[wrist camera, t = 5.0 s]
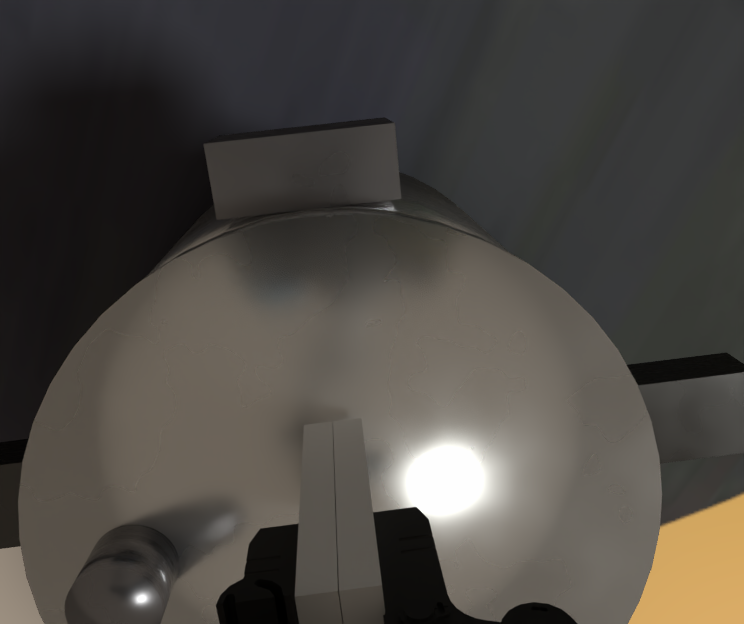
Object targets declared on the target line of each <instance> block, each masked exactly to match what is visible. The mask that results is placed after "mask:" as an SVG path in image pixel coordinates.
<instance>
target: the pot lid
mask: <svg viewBox="0 0 744 624" xmlns="http://www.w3.org/2000/svg"><path fill="white" fill-rule="evenodd" d="M356 418H361V420H362V428H363V436H364V444H365V452H366V460H367V468H368V476H369V484H370V492H371V500H372V508H373V512H379V511H387V510H394V509H402V508H410V507H417V508H418V509H419V510H420V511H421V512H422V513H423V514H424V515H425V516H426V517H427V518H428V519H429V523H430V527H431V530H432V535H433V538H434V542H435V546H436V550H437V554H438V558H439V562H440V566H441V570H442V574H443V578H444V582H445V586H446V590H447V594H448V596H449V598H450V601H451V602H452V603H453V604H454V606H455V607H456V608H457V609H459V610H460V611H462V612H463V613H464V614H467V615H469V616H471V617H474V618H478V619H482V620H488V621H496V622H501V620H502V618H503V617H504V616H505V614H506V613H507V612H508V611H509V610H510V609H512V608H514V607H516V606H518V605H520V604H525V603H531V602H537V603H546V604H550V605H553V606H555V607H558V608H560V609H562V610H563V611H565V612H566V613H567V614H568V615H570V616H571V617H572V618H573V619H574V620H575V622H576V623H577V624H628V622H629V620H630V618H631V616H632V614H633V612H634V611H635V609H636V606H637V605H638V603H639V601H640V598H641V595H642V593H643V590H644V587H645V584H646V581H647V579H648V575H649V573H650V570H651V568H652V563H653V559H654V554H655V549H656V545H657V540H658V535H659V530H660V516H661V502H662V487H661V473H660V459H659V453H658V449H657V444H656V440H655V435H654V431H653V426H652V422H651V419H650V416H649V413H648V411H647V408H646V406H645V403H644V400H643V398H642V395H641V392H640V390H639V387H638V385H637V383H636V381H635V379H634V377H633V376H632V374H631V372H630V370H629V369H628V367H627V365H626V363H625V361H624V360H623V358H622V356H621V354H620V353H619V351H618V349H617V348H616V347H615V345H614V344H613V343H612V342H611V340H610V339H609V338H608V336H607V335H606V334H605V333H604V331H603V330H602V329H601V327H600V326H599V325H598V323H597V322H596V321H595V320H594V318H593V317H592V316H591V315H590V314H589V313H588V312H587V311H585V310H584V309H583V308H582V307H581V306H580V305H579V304H578V303H577V302H576V301H575V300H574V299H573V298H572V297H571V296H570V295H569V294H568V293H567V292H566V291H565V290H564V289H563V288H561V287H560V286H558V285H557V284H556V283H554V282H553V281H551V280H550V279H549V278H547V277H546V276H545V275H543V274H542V273H540V272H539V271H538V270H536V269H535V268H533V267H532V266H531V265H529V264H528V263H526V262H525V261H523V260H521V259H520V258H518V257H517V256H515V255H513V254H511V253H509V252H507V251H505V250H504V249H502V248H500V247H498V246H496V245H494V244H492V243H490V242H488V241H487V240H485V239H483V238H481V237H479V236H476V235H473V234H471V233H468V232H465V231H462V230H460V229H457V228H454V227H451V226H449V225H446V224H443V223H440V222H436V221H432V220H427V219H423V218H418V217H414V216H409V215H405V214H400V213H393V212H381V211H369V210H357V209H347V210H326V211H308V212H303V213H297V214H292V215H286V216H281V217H275V218H270V219H265V220H262V221H259V222H255V223H252V224H249V225H246V226H243V227H240V228H237V229H234V230H231V231H227V232H224V233H222V234H220V235H218V236H216V237H214V238H211V239H209V240H207V241H205V242H203V243H201V244H199V245H197V246H195V247H193V248H191V249H188V250H186V251H184V252H183V253H181V254H180V255H178V256H177V257H175V258H173V259H172V260H170V261H169V262H167V263H166V264H164V265H163V266H161V267H160V268H158V269H157V270H155V271H154V272H152V273H151V274H149V275H148V276H146V277H145V278H144V279H142V280H141V281H140V282H138V283H137V284H136V285H135V286H134V287H132V288H131V289H130V290H129V291H128V292H127V293H126V294H124V295H123V296H122V297H121V298H120V299H119V300H118V301H116V302H115V303H114V304H113V305H112V306H111V307H110V308H108V309H107V310H106V311H105V312H104V313H103V314H102V315H101V316H100V317H99V318H98V319H97V320H96V322H95V323H94V324H93V325H92V326H91V327H90V329H89V330H88V331H87V332H86V333H85V334H84V336H83V337H82V338H81V339H80V340H79V341H78V343H77V344H76V345H75V346H74V347H73V349H72V350H71V352H70V353H69V355H68V356H67V358H66V360H65V361H64V363H63V364H62V366H61V368H60V369H59V371H58V372H57V374H56V375H55V377H54V379H53V380H52V382H51V383H50V385H49V388H48V390H47V392H46V394H45V397H44V399H43V401H42V403H41V406H40V408H39V410H38V412H37V415H36V417H35V419H34V421H33V425H32V429H31V432H30V436H29V440H28V443H27V447H26V451H25V454H24V458H23V462H22V471H21V479H20V488H19V497H18V513H19V540H20V545H21V550H22V555H23V561H24V566H25V571H26V576H27V580H28V583H29V585H30V588H31V591H32V594H33V597H34V600H35V603H36V605H37V608H38V611H39V614H40V616H41V618H42V620H43V622H44V623H45V624H220V623H219V619H218V614H217V609H216V603H217V601H218V599H219V597H220V595H221V594H222V593H223V592H224V591H225V590H226V589H227V588H228V587H229V586H230V585H232V584H234V583H236V582H238V581H240V580H241V579H243V577H244V571H245V565H246V563H247V562H246V559H247V553H248V547H249V543H250V542H251V540H252V539H253V538H254V536H255V535H256V534H257V532H258V531H259V530H260V528H268V527H276V526H283V525H291V524H299V507H300V488H301V470H302V451H303V433H304V425H308V424H316V423H324V422H333V421H340V420H348V419H356Z"/></svg>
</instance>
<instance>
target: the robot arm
mask: <svg viewBox="0 0 744 624" xmlns="http://www.w3.org/2000/svg"><path fill="white" fill-rule="evenodd" d="M246 562H247V563H246V565H245V571H244V577H243V579H241V580H240V581H238V582H236V583H234V584H232V585H230V586H229V587H228V588H227V589H226V590H225V591H224V592H223V593H222V594H221V595H220V597H219V599H218V601H217V603H216V609H217V614H218V619H219V623H220V624H577V623H576V622H575V620H574V619H573V618H572V617H571V616H570V615H568V614H567V613H566V612H565V611H563V610H562V609H560V608H558V607H555V606H553V605H550V604H546V603H537V602H531V603H525V604H520V605H518V606H516V607H514V608H512V609H510V610H509V611H508V612H507V613H506V614H505V616H504V617H503V618H502V620H501V622H496V621H488V620H482V619H478V618H474V617H471V616H469V615H467V614H464V613H463V612H462V611H460V610H459V609H457V608H456V607H455V606H454V604H453V603H452V602H451V601H450V598H449V596H448V594H447V590H446V586H445V582H444V578H443V574H442V570H441V566H440V562H439V558H438V554H437V550H436V546H435V542H434V538H433V535H432V530H431V527H430V523H429V519H428V518H427V517H426V516H425V515H424V514H423V513H422V512H421V511H420V510H419V509H418V508H417V507H410V508H402V509H394V510H387V511H379V512H373V508H372V500H371V492H370V484H369V476H368V468H367V460H366V452H365V444H364V436H363V428H362V420H361V418H356V419H348V420H340V421H333V422H324V423H316V424H308V425H304V433H303V451H302V470H301V488H300V507H299V524H291V525H283V526H276V527H268V528H260V530H259V531H258V532H257V534H256V535H255V536H254V538H253V539H252V540H251V542H250V543H249V547H248V553H247V559H246Z"/></svg>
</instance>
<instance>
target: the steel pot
mask: <svg viewBox="0 0 744 624" xmlns="http://www.w3.org/2000/svg"><path fill="white" fill-rule="evenodd" d="M203 145H204V150H205V156H206V162H207V167H208V173H209V179H210V184H211V190H212V196H213V201H214V205H213V206H211V207H210V208H209V209H208V210H207V211H206V212H205V213H204V214H202V215H201V216H200V217H199V219H198V220H197V221H196V222H195V223H194V224H193V225H192V226H191V227H190V229H189V230H188V231H187V232H186V233H185V234H184V235H183V236H182V237H181V238H180V240H179V241H178V242H177V243H176V244H175V245H174V246H173V247H172V248H171V250H170V251H169V252H168V253H167V254H166V255H165V256H164V257H163V258H162V260H161V261H160V262H159V263H158V264H157V265H156V266H155V267H154V268H153V270H152V271H151V272H150V273H149V274H151V273H152V272H154V271H155V270H157V269H158V268H160V267H161V266H163V265H164V264H166V263H167V262H169V261H170V260H172V259H173V258H175V257H177V256H178V255H180V254H181V253H183V252H184V251H186V250H188V249H191V248H193V247H195V246H197V245H199V244H201V243H203V242H205V241H207V240H209V239H211V238H214V237H216V236H218V235H220V234H222V233H224V232H227V231H231V230H234V229H237V228H240V227H243V226H246V225H249V224H252V223H255V222H259V221H262V220H265V219H270V218H275V217H281V216H286V215H292V214H297V213H303V212H308V211H326V210H347V209H357V210H369V211H381V212H393V213H400V214H405V215H409V216H414V217H418V218H423V219H427V220H432V221H436V222H440V223H443V224H446V225H449V226H451V227H454V228H457V229H460V230H462V231H465V232H468V233H471V234H473V235H476V236H479V237H481V238H483V239H485V240H487V241H488V242H490V243H492V244H494V245H496V246H498V247H500V248H502V249H504V250H505V251H507V250H506V249H505V248H504V247H503V246H502V245H501V244H499V243H498V242H497V241H496V240H495V239H494V238H493V237H492V236H491V235H489V234H488V233H487V232H486V231H485V230H484V229H483V228H482V227H481V226H479V225H478V224H477V223H476V222H475V221H474V220H473V219H472V218H471V217H469V216H468V215H467V214H466V213H465V212H464V211H463V210H462V209H461V208H459V207H458V206H457V205H456V204H455V203H454V202H452V201H451V200H449V199H448V198H447V197H445V196H444V195H443V194H441V193H440V192H438V191H437V190H436V189H434V188H432V187H430V186H429V185H427V184H425V183H423V182H421V181H419V180H417V179H415V178H414V177H411V176H408V175H406V174H403V173H400V172H399V167H398V156H397V144H396V133H395V123H394V122H392V121H390V120H388V119H387V118H385V117H384V118H375V119H366V120H357V121H347V122H338V123H329V124H320V125H311V126H302V127H293V128H283V129H274V130H265V131H256V132H247V133H238V134H229V135H220V136H218V137H216V138H214V139H212V140H210V141H208V142H206V143H204V144H203ZM507 252H508V251H507ZM509 253H510V252H509ZM149 274H148V275H149ZM148 275H147V276H148ZM627 367H628V369H629V370H630V372H631V374H632V376H633V377H634V379H635V381H636V383H637V385H638V387H639V390H640V392H641V395H642V398H643V400H644V403H645V406H646V408H647V411H648V413H649V416H650V419H651V422H652V426H653V431H654V435H655V440H656V444H657V449H658V453H659V459H660V464H661V463H669V462H676V461H684V460H692V459H700V458H707V457H715V456H723V455H731V454H739V453H744V364H743V363H741V362H740V361H738V360H737V359H735V358H734V357H732V356H731V355H729V354H728V353H720V354H711V355H703V356H695V357H687V358H679V359H671V360H663V361H655V362H647V363H639V364H631V365H627ZM28 440H29V439H24V440H16V441H8V442H0V549H2V548H9V547H17V546H21V545H20V540H19V513H18V497H19V488H20V479H21V471H22V462H23V458H24V454H25V451H26V447H27V443H28Z"/></svg>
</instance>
